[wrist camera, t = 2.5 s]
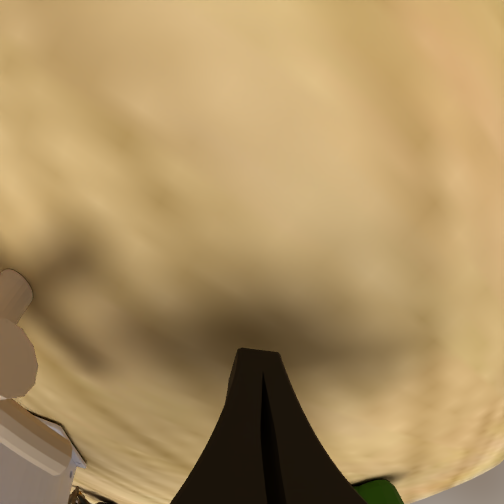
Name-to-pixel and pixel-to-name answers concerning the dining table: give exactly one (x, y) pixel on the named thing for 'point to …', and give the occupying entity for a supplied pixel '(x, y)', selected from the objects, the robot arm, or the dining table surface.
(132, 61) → the dining table surface
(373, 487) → the bell pepper
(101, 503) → the eagle figurine
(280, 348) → the dining table surface
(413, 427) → the dining table surface
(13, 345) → the pipe connector
